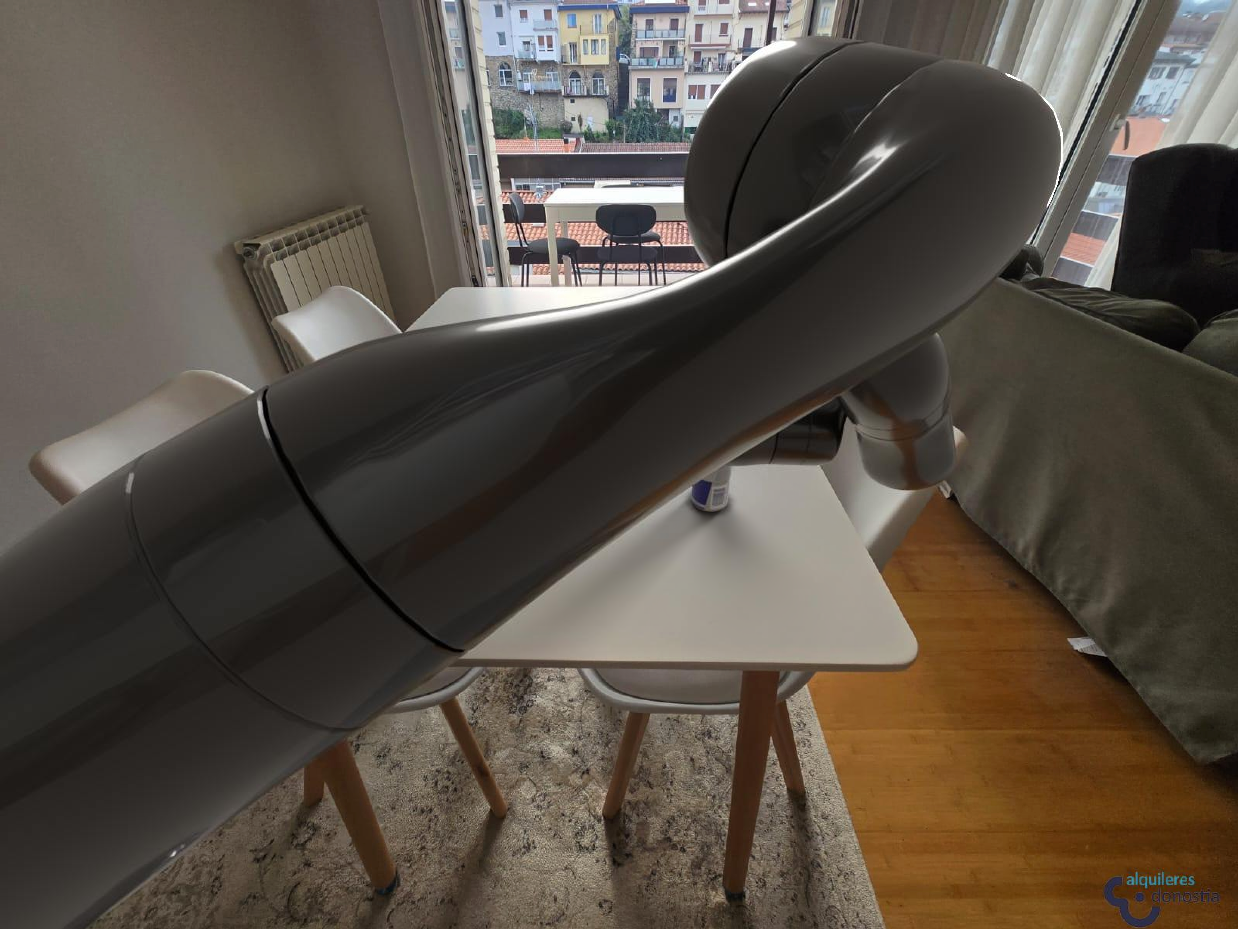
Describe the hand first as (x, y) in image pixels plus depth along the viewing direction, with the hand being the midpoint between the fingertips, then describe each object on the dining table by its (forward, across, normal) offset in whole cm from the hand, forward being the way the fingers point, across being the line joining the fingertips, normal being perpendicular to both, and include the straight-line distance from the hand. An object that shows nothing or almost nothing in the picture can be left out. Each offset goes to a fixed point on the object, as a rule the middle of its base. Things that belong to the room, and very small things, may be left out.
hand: (541, 419), depth 47 cm
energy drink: (-19, -20, +24) cm, 37 cm away
